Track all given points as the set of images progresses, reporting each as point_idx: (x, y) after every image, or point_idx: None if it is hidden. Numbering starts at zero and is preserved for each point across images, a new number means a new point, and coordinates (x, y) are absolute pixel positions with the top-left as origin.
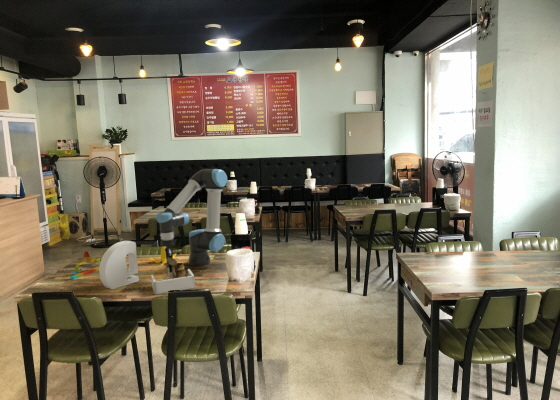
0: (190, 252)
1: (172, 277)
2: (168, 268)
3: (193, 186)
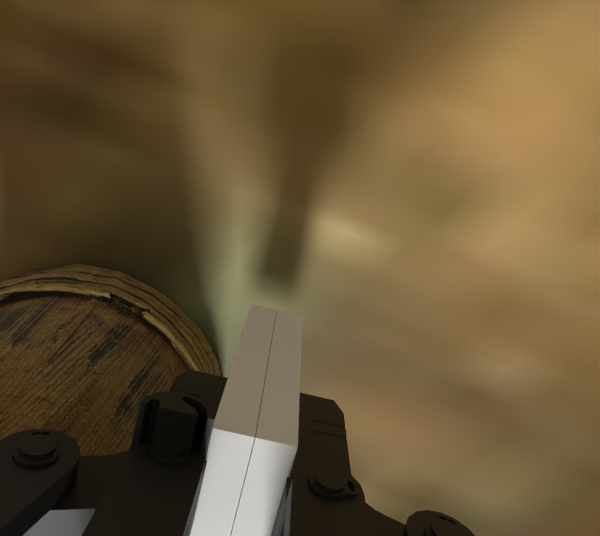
0: None
1: (63, 329)
2: (218, 418)
3: None
